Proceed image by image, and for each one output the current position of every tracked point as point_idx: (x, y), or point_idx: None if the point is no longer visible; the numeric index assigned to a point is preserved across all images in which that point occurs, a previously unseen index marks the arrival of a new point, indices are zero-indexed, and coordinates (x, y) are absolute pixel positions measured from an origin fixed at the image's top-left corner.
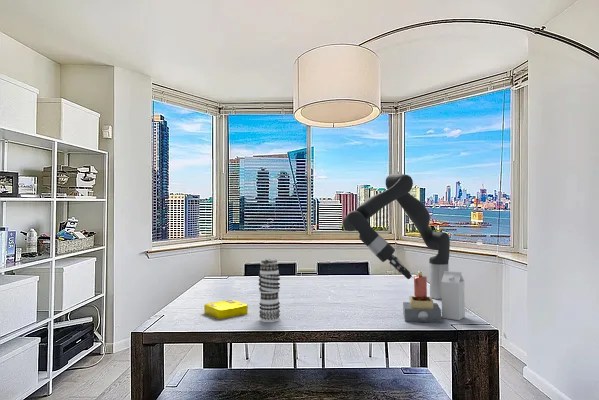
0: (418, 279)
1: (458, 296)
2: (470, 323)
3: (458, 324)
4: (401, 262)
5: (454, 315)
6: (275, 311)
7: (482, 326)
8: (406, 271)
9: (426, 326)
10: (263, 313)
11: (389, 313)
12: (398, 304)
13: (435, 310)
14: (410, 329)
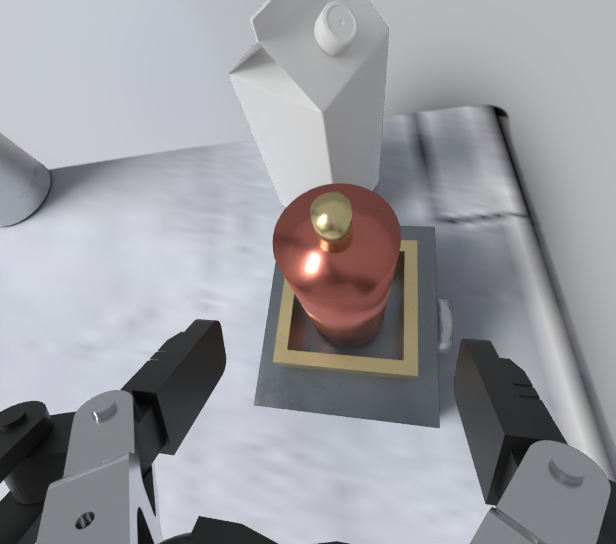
0: (393, 268)
1: (383, 104)
2: (413, 154)
3: (436, 195)
4: (127, 462)
5: (369, 186)
6: None
7: (449, 125)
8: (522, 417)
9: (500, 328)
10: None
11: (262, 486)
12: (84, 395)
13: (434, 253)
14: (583, 422)
